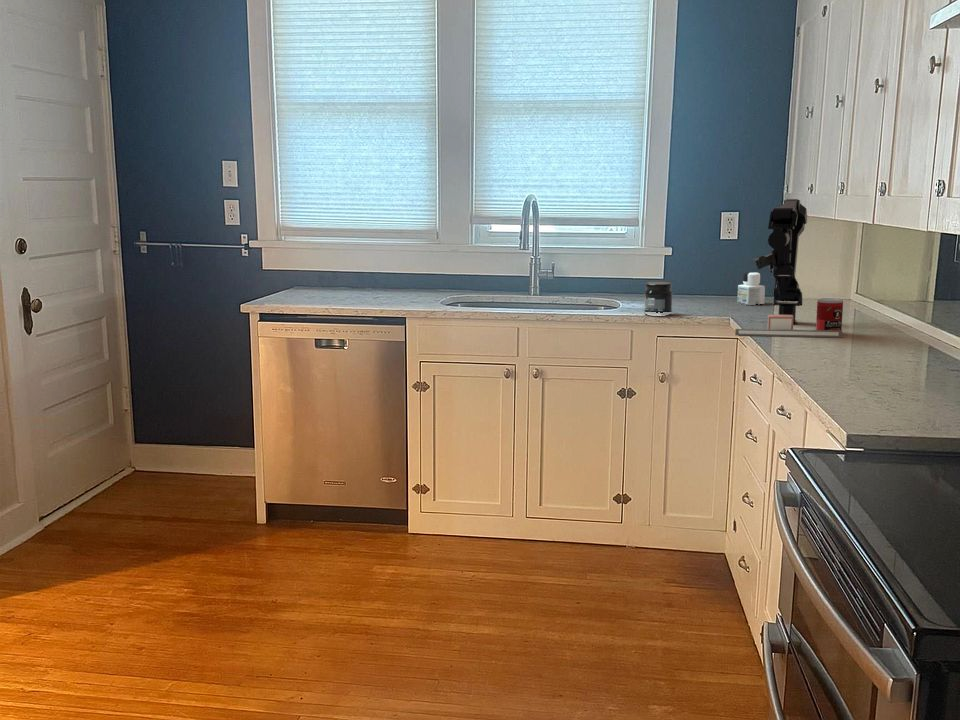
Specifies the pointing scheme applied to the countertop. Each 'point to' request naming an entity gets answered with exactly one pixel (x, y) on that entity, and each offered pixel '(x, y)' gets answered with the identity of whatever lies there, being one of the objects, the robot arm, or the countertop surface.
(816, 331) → the price rail
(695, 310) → the countertop surface
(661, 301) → the supplement container
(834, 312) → the canned food
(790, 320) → the salmon pink block
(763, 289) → the container
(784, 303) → the robot arm
